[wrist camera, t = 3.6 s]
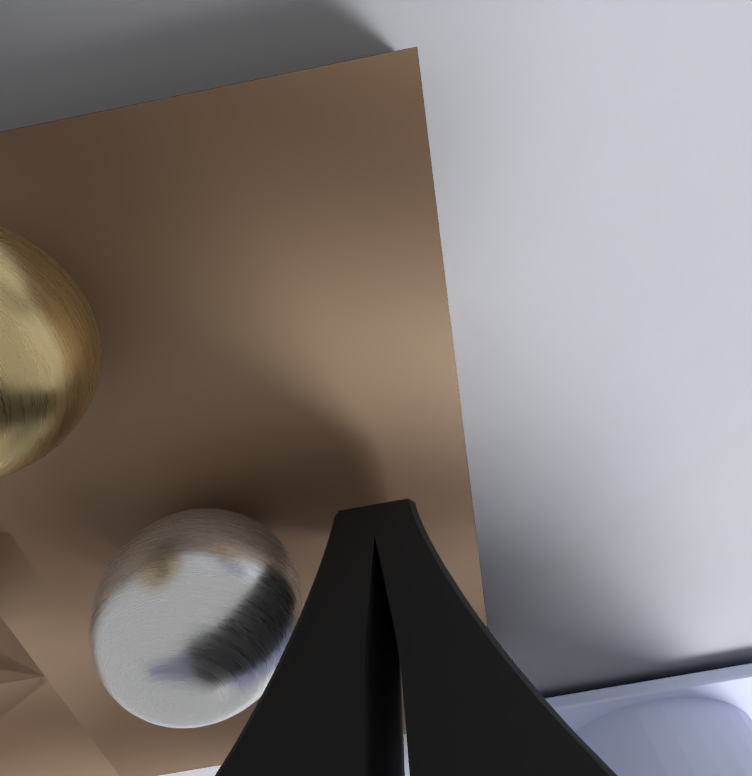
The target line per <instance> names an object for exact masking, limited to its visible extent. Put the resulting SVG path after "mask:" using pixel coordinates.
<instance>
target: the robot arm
mask: <svg viewBox="0 0 752 776" xmlns="http://www.w3.org/2000/svg"><path fill="white" fill-rule="evenodd" d="M401 677H402V688H403V699H404V710H405V721H406V733H407V745H408V757H409V769H410V776H752V663H750V664H744V665H738V666H732V667H726V668H720V669H714V670H709V671H703V672H697V673H691V674H685V675H679V676H673V677H667V678H661V679H655V680H650V681H644V682H638V683H632V684H626V685H620V686H614V687H608V688H602V689H597V690H591V691H585V692H579V693H573V694H567V695H561V696H555V697H549V698H544V697H543V696H542V695H541V694H540V693H539V692H538V690H537V689H536V688H535V687H534V686H533V685H532V683H531V682H530V681H529V680H528V679H527V677H526V676H525V675H524V674H523V673H522V672H521V670H520V669H519V668H518V667H517V666H516V664H515V663H514V662H513V661H512V659H511V658H510V657H509V656H508V654H507V653H506V652H505V651H504V649H503V648H502V647H501V645H500V644H499V643H498V642H497V640H496V639H495V638H494V636H493V635H492V634H491V632H490V631H489V630H488V628H487V627H486V626H485V624H484V623H483V621H482V620H481V619H480V617H479V616H478V615H477V613H476V612H475V611H474V609H473V608H472V606H471V605H470V603H469V602H468V600H467V599H466V598H465V596H464V595H463V593H462V591H461V590H460V588H459V587H458V585H457V584H456V582H455V581H454V579H453V577H452V576H451V574H450V573H449V571H448V570H447V568H446V567H445V565H444V563H443V561H442V560H441V558H440V556H439V555H438V553H437V551H436V549H435V547H434V545H433V544H432V542H431V540H430V538H429V536H428V534H427V532H426V530H425V528H424V526H423V523H422V521H421V519H420V516H419V513H418V511H417V507H416V503H415V502H413V501H412V500H410V499H408V498H407V499H402V500H396V501H390V502H385V503H379V504H373V505H368V506H362V507H357V508H351V509H345V510H340V511H339V512H338V513H337V514H336V515H335V517H334V521H333V525H332V529H331V532H330V536H329V539H328V542H327V546H326V549H325V552H324V555H323V558H322V560H321V563H320V566H319V569H318V572H317V575H316V577H315V580H314V582H313V585H312V587H311V590H310V592H309V595H308V597H307V600H306V602H305V605H304V607H303V610H302V612H301V615H300V617H299V619H298V622H297V624H296V626H295V628H294V630H293V632H292V635H291V637H290V639H289V641H288V643H287V645H286V647H285V649H284V652H283V654H282V656H281V658H280V660H279V662H278V664H277V667H276V669H275V671H274V673H273V675H272V677H271V679H270V680H269V682H268V684H267V686H266V688H265V690H264V692H263V694H262V696H261V698H260V700H259V701H258V703H257V705H256V707H255V709H254V711H253V712H252V714H251V716H250V718H249V720H248V721H247V723H246V725H245V727H244V728H243V730H242V732H241V734H240V735H239V737H238V739H237V741H236V742H235V744H234V746H233V747H232V749H231V751H230V752H229V754H228V755H227V757H226V759H225V760H224V762H223V764H222V765H221V767H220V769H219V770H218V772H217V773H216V775H215V776H405V772H404V744H403V716H402V689H401Z"/></svg>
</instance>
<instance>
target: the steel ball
mask: <svg viewBox="0 0 752 776" xmlns="http://www.w3.org/2000/svg"><path fill="white" fill-rule="evenodd" d="M302 610H303V605H302V590H301V584H300V580H299V576H298V572H297V570H296V567H295V565H294V562H293V560H292V558H291V556H290V554H289V553H288V551H287V550H286V548H285V547H284V545H283V544H282V542H281V541H280V540H279V539H278V538H277V537H276V536H275V535H274V534H273V533H272V532H271V531H270V530H269V529H268V528H266V527H265V526H264V525H262V524H261V523H259V522H258V521H256V520H254V519H252V518H250V517H248V516H246V515H243V514H241V513H238V512H234V511H230V510H225V509H218V508H197V509H189V510H185V511H181V512H177V513H174V514H171V515H169V516H166V517H163V518H161V519H159V520H157V521H155V522H154V523H152V524H150V525H148V526H147V527H145V528H144V529H142V530H141V531H140V532H138V533H137V534H136V535H135V536H134V537H132V538H131V539H130V540H129V541H128V542H127V543H126V544H125V545H124V546H123V547H122V548H121V549H120V550H119V552H118V553H117V554H116V555H115V557H114V558H113V559H112V560H111V562H110V563H109V565H108V567H107V568H106V570H105V572H104V573H103V575H102V577H101V579H100V581H99V584H98V586H97V589H96V591H95V594H94V598H93V601H92V605H91V610H90V615H89V633H88V636H89V644H90V651H91V657H92V660H93V663H94V666H95V669H96V672H97V674H98V676H99V678H100V680H101V681H102V683H103V685H104V686H105V688H106V690H107V691H108V692H109V694H110V695H111V696H112V697H113V698H114V699H115V700H116V701H117V702H118V703H119V704H120V705H121V706H122V707H123V708H124V709H126V710H127V711H128V712H130V713H131V714H133V715H135V716H137V717H139V718H140V719H142V720H145V721H147V722H149V723H152V724H155V725H159V726H163V727H169V728H196V727H202V726H206V725H211V724H215V723H218V722H221V721H223V720H226V719H228V718H230V717H232V716H234V715H236V714H238V713H240V712H241V711H243V710H245V709H246V708H247V707H249V706H250V705H252V704H253V703H254V702H255V701H257V700H258V699H259V698H260V697H261V696H262V694H263V692H264V690H265V688H266V686H267V684H268V682H269V680H270V679H271V677H272V675H273V673H274V671H275V669H276V667H277V664H278V662H279V660H280V658H281V656H282V654H283V652H284V649H285V647H286V645H287V643H288V641H289V639H290V637H291V635H292V632H293V630H294V628H295V626H296V624H297V622H298V619H299V617H300V615H301V612H302Z"/></svg>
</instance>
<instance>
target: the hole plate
mask: <svg viewBox="0 0 752 776" xmlns="http://www.w3.org/2000/svg"><path fill="white" fill-rule="evenodd" d="M0 227H3V228H5V229H7V230H9V231H11V232H13V233H15V234H17V235H19V236H21V237H23V238H24V239H26V240H28V241H29V242H31V243H32V244H34V245H36V246H37V247H39V248H40V249H42V250H43V251H44V252H45V253H47V254H48V255H49V256H51V257H52V258H53V259H54V260H55V261H56V262H57V263H58V264H59V265H61V266H62V267H63V268H64V269H65V270H66V272H67V273H68V274H69V275H70V276H71V277H72V279H73V280H74V281H75V282H76V284H77V285H78V287H79V288H80V289H81V291H82V292H83V294H84V296H85V298H86V299H87V301H88V303H89V305H90V307H91V310H92V312H93V315H94V317H95V320H96V323H97V326H98V331H99V335H100V340H101V351H102V355H101V371H100V377H99V381H98V385H97V389H96V392H95V395H94V397H93V399H92V402H91V404H90V406H89V408H88V410H87V411H86V413H85V414H84V416H83V418H82V419H81V421H80V422H79V424H78V425H77V427H76V428H75V429H74V430H73V431H72V432H71V433H70V434H69V435H68V437H67V438H66V439H65V440H64V441H63V442H62V443H61V444H60V445H59V446H57V447H56V448H55V449H54V450H52V451H51V452H50V453H48V454H47V455H46V456H44V457H43V458H41V459H40V460H39V461H37V462H35V463H33V464H31V465H30V466H28V467H26V468H24V469H22V470H20V471H18V472H16V473H14V474H11V475H8V476H6V477H3V478H1V479H0V776H158V775H164V774H170V773H176V772H182V771H188V770H193V769H199V768H205V767H211V766H217V765H222V764H223V762H224V760H225V759H226V757H227V755H228V754H229V752H230V751H231V749H232V747H233V746H234V744H235V742H236V741H237V739H238V737H239V735H240V734H241V732H242V730H243V728H244V727H245V725H246V723H247V721H248V720H249V718H250V716H251V714H252V712H253V711H254V709H255V707H256V705H257V703H258V701H259V700H260V698H261V697H260V698H259V699H258V700H257V701H255V702H254V703H253V704H252V705H250V706H249V707H247V708H246V709H245V710H243V711H241V712H240V713H238V714H236V715H234V716H232V717H230V718H228V719H226V720H223V721H221V722H218V723H215V724H211V725H206V726H202V727H196V728H169V727H163V726H159V725H155V724H152V723H149V722H147V721H145V720H142V719H140V718H139V717H137V716H135V715H133V714H131V713H130V712H128V711H127V710H126V709H124V708H123V707H122V706H121V705H120V704H119V703H118V702H117V701H116V700H115V699H114V698H113V697H112V696H111V695H110V694H109V692H108V691H107V690H106V688H105V686H104V685H103V683H102V681H101V680H100V678H99V676H98V674H97V672H96V669H95V666H94V663H93V660H92V657H91V651H90V644H89V636H88V633H89V615H90V610H91V605H92V601H93V598H94V594H95V591H96V589H97V586H98V584H99V581H100V579H101V577H102V575H103V573H104V572H105V570H106V568H107V567H108V565H109V563H110V562H111V560H112V559H113V558H114V557H115V555H116V554H117V553H118V552H119V550H120V549H121V548H122V547H123V546H124V545H125V544H126V543H127V542H128V541H129V540H130V539H131V538H132V537H134V536H135V535H136V534H137V533H138V532H140V531H141V530H142V529H144V528H145V527H147V526H148V525H150V524H152V523H154V522H155V521H157V520H159V519H161V518H163V517H166V516H169V515H171V514H174V513H177V512H181V511H185V510H189V509H197V508H218V509H225V510H230V511H234V512H238V513H241V514H243V515H246V516H248V517H250V518H252V519H254V520H256V521H258V522H259V523H261V524H262V525H264V526H265V527H266V528H268V529H269V530H270V531H271V532H272V533H273V534H274V535H275V536H276V537H277V538H278V539H279V540H280V541H281V542H282V544H283V545H284V547H285V548H286V550H287V551H288V553H289V554H290V556H291V558H292V560H293V562H294V565H295V567H296V570H297V572H298V576H299V580H300V584H301V590H302V605H303V607H304V605H305V602H306V600H307V597H308V595H309V592H310V590H311V587H312V585H313V582H314V580H315V577H316V575H317V572H318V569H319V566H320V563H321V560H322V558H323V555H324V552H325V549H326V546H327V542H328V539H329V536H330V532H331V529H332V525H333V521H334V517H335V515H336V514H337V513H338V512H339V511H340V510H345V509H351V508H357V507H362V506H368V505H373V504H379V503H385V502H390V501H396V500H402V499H407V498H408V499H410V500H412V501H413V502H415V503H416V507H417V511H418V513H419V516H420V519H421V521H422V523H423V526H424V528H425V530H426V532H427V534H428V536H429V538H430V540H431V542H432V544H433V545H434V547H435V549H436V551H437V553H438V555H439V556H440V558H441V560H442V561H443V563H444V565H445V567H446V568H447V570H448V571H449V573H450V574H451V576H452V577H453V579H454V581H455V582H456V584H457V585H458V587H459V588H460V590H461V591H462V593H463V595H464V596H465V598H466V599H467V600H468V602H469V603H470V605H471V606H472V608H473V609H474V611H475V612H476V613H477V615H478V616H479V617H480V619H481V620H482V621H483V623H484V624H485V626H486V627H487V619H486V611H485V603H484V595H483V586H482V578H481V570H480V562H479V553H478V545H477V537H476V529H475V520H474V512H473V504H472V496H471V487H470V479H469V471H468V463H467V454H466V446H465V438H464V430H463V421H462V413H461V405H460V397H459V388H458V380H457V372H456V364H455V355H454V347H453V339H452V331H451V322H450V314H449V306H448V298H447V289H446V281H445V273H444V265H443V256H442V248H441V240H440V232H439V223H438V215H437V207H436V199H435V190H434V182H433V174H432V166H431V157H430V149H429V141H428V133H427V124H426V116H425V108H424V100H423V91H422V83H421V75H420V67H419V58H418V50H417V47H413V48H408V49H403V50H398V51H393V52H388V53H384V54H379V55H374V56H369V57H364V58H359V59H354V60H349V61H345V62H340V63H335V64H330V65H325V66H320V67H315V68H310V69H306V70H301V71H296V72H291V73H286V74H281V75H276V76H271V77H266V78H262V79H257V80H252V81H247V82H242V83H237V84H232V85H227V86H223V87H218V88H213V89H208V90H203V91H198V92H193V93H188V94H184V95H179V96H174V97H169V98H164V99H159V100H154V101H149V102H145V103H140V104H135V105H130V106H125V107H120V108H115V109H110V110H106V111H101V112H96V113H91V114H86V115H81V116H76V117H71V118H66V119H62V120H57V121H52V122H47V123H42V124H37V125H32V126H27V127H23V128H18V129H13V130H8V131H3V132H0ZM487 628H488V627H487ZM401 689H402V716H403V734H406V721H405V710H404V699H403V688H402V677H401Z"/></svg>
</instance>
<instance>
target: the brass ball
mask: <svg viewBox="0 0 752 776" xmlns="http://www.w3.org/2000/svg"><path fill="white" fill-rule="evenodd" d="M101 355H102V351H101V340H100V335H99V331H98V326H97V323H96V320H95V317H94V315H93V312H92V310H91V307H90V305H89V303H88V301H87V299H86V298H85V296H84V294H83V292H82V291H81V289H80V288H79V287H78V285H77V284H76V282H75V281H74V280H73V279H72V277H71V276H70V275H69V274H68V273H67V272H66V270H65V269H64V268H63V267H62V266H61V265H59V264H58V263H57V262H56V261H55V260H54V259H53V258H52V257H51V256H49V255H48V254H47V253H45V252H44V251H43V250H42V249H40V248H39V247H37V246H36V245H34V244H32V243H31V242H29V241H28V240H26V239H24V238H23V237H21V236H19V235H17V234H15V233H13V232H11V231H9V230H7V229H5V228H3V227H0V479H1V478H3V477H6V476H8V475H11V474H14V473H16V472H18V471H20V470H22V469H24V468H26V467H28V466H30V465H31V464H33V463H35V462H37V461H39V460H40V459H41V458H43V457H44V456H46V455H47V454H48V453H50V452H51V451H52V450H54V449H55V448H56V447H57V446H59V445H60V444H61V443H62V442H63V441H64V440H65V439H66V438H67V437H68V435H69V434H70V433H71V432H72V431H73V430H74V429H75V428H76V427H77V425H78V424H79V422H80V421H81V419H82V418H83V416H84V414H85V413H86V411H87V410H88V408H89V406H90V404H91V402H92V399H93V397H94V395H95V392H96V389H97V385H98V381H99V377H100V371H101Z"/></svg>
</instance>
